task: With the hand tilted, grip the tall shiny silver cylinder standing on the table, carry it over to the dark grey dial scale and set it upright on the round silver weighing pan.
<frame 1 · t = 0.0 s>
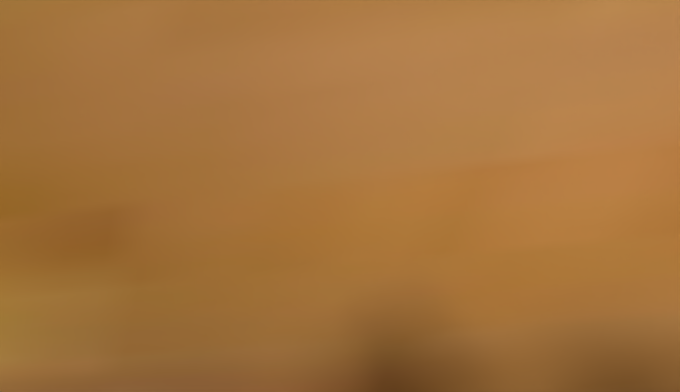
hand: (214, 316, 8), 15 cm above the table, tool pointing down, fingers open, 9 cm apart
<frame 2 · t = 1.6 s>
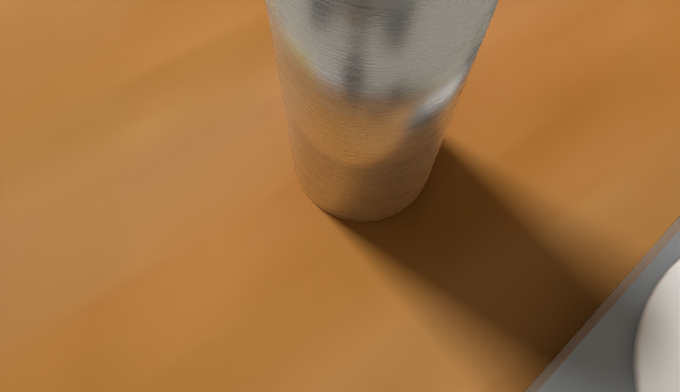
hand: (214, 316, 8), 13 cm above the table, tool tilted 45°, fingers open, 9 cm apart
shiny silver cylinder: (362, 156, 24), on the table
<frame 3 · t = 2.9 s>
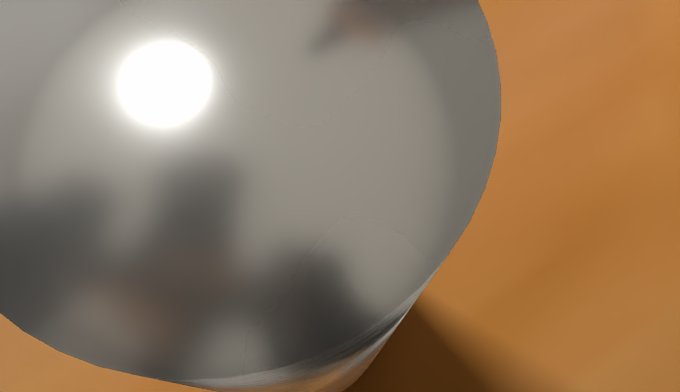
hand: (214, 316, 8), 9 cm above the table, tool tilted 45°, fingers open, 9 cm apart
shiny silver cylinder: (295, 310, 18), on the table
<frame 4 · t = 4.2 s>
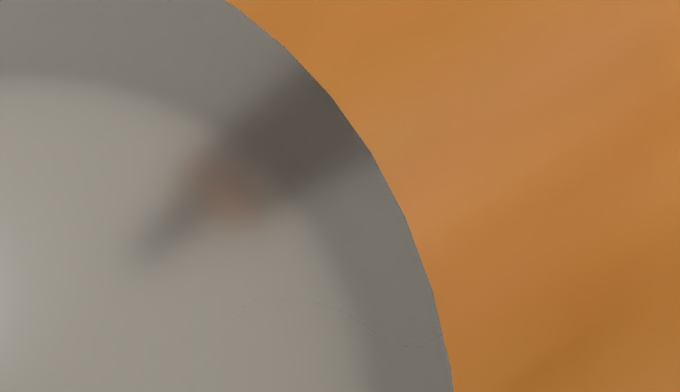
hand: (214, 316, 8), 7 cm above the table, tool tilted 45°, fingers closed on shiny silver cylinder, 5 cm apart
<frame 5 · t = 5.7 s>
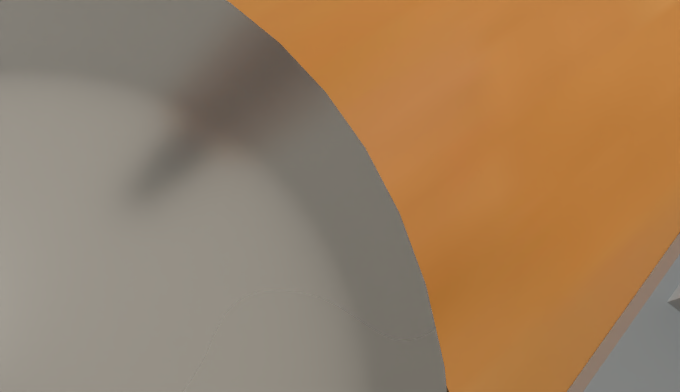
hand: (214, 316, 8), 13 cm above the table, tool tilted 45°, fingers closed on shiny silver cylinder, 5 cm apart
when the fingers open (10 cm above the table, at t = 7.4 s): shiny silver cylinder stays where it is, resting on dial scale.
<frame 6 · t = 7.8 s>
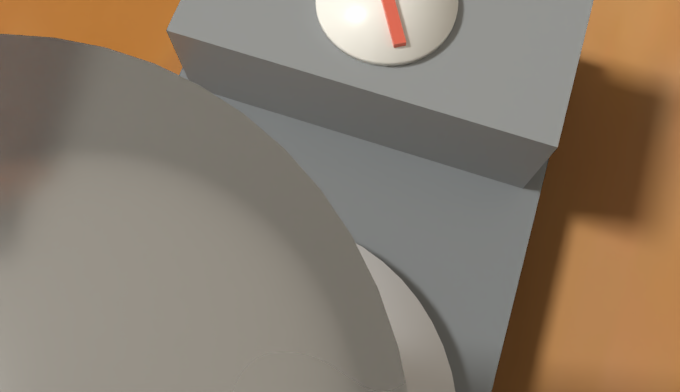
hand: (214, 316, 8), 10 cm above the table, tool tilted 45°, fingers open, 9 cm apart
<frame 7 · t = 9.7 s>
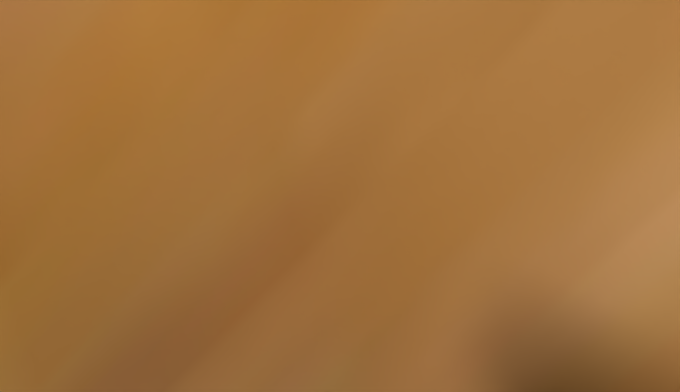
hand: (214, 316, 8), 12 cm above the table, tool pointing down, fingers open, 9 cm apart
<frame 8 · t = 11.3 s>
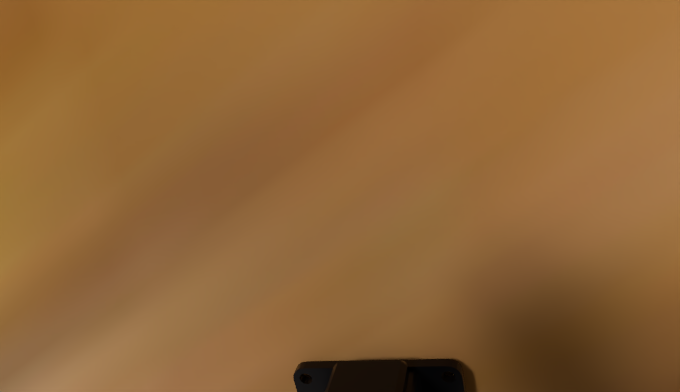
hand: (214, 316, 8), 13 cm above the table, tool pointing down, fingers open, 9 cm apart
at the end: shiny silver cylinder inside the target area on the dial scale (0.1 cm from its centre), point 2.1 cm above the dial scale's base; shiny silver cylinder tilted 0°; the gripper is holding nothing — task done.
